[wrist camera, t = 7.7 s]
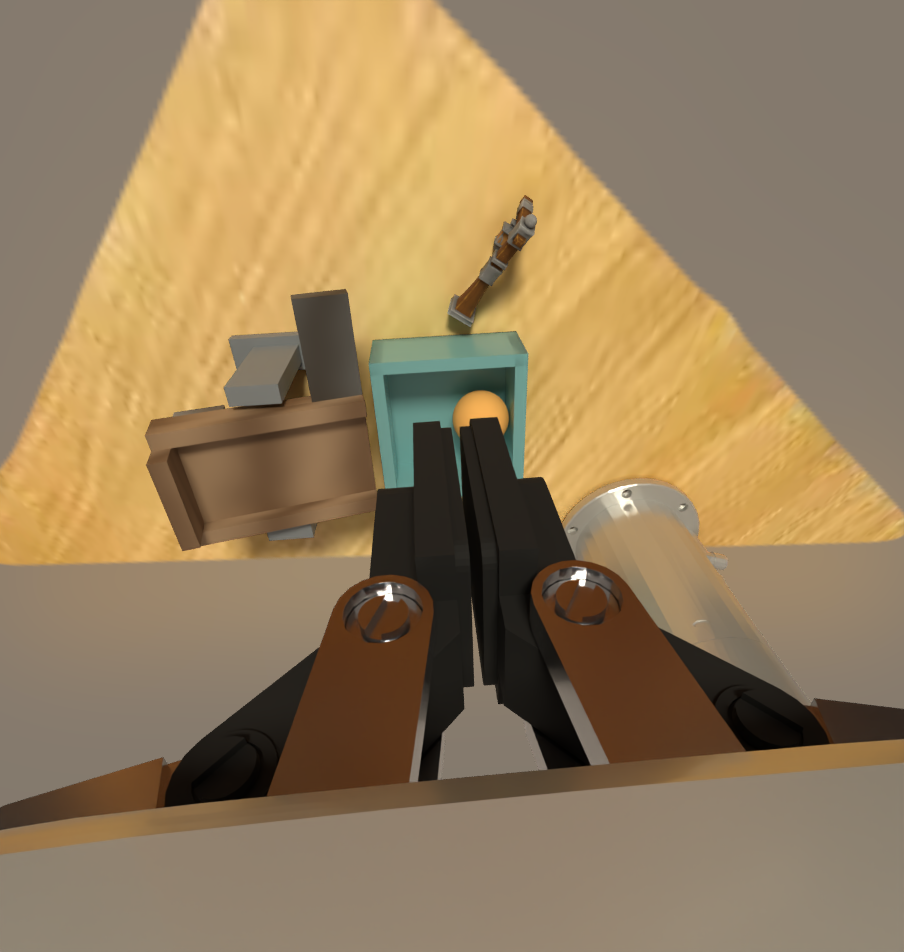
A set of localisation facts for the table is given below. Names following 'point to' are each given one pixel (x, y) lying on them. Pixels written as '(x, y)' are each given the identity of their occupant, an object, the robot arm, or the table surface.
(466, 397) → the ball
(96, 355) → the table surface
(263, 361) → the lever stand
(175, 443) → the lever
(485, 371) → the teal open box
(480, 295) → the wooden post with brackets
